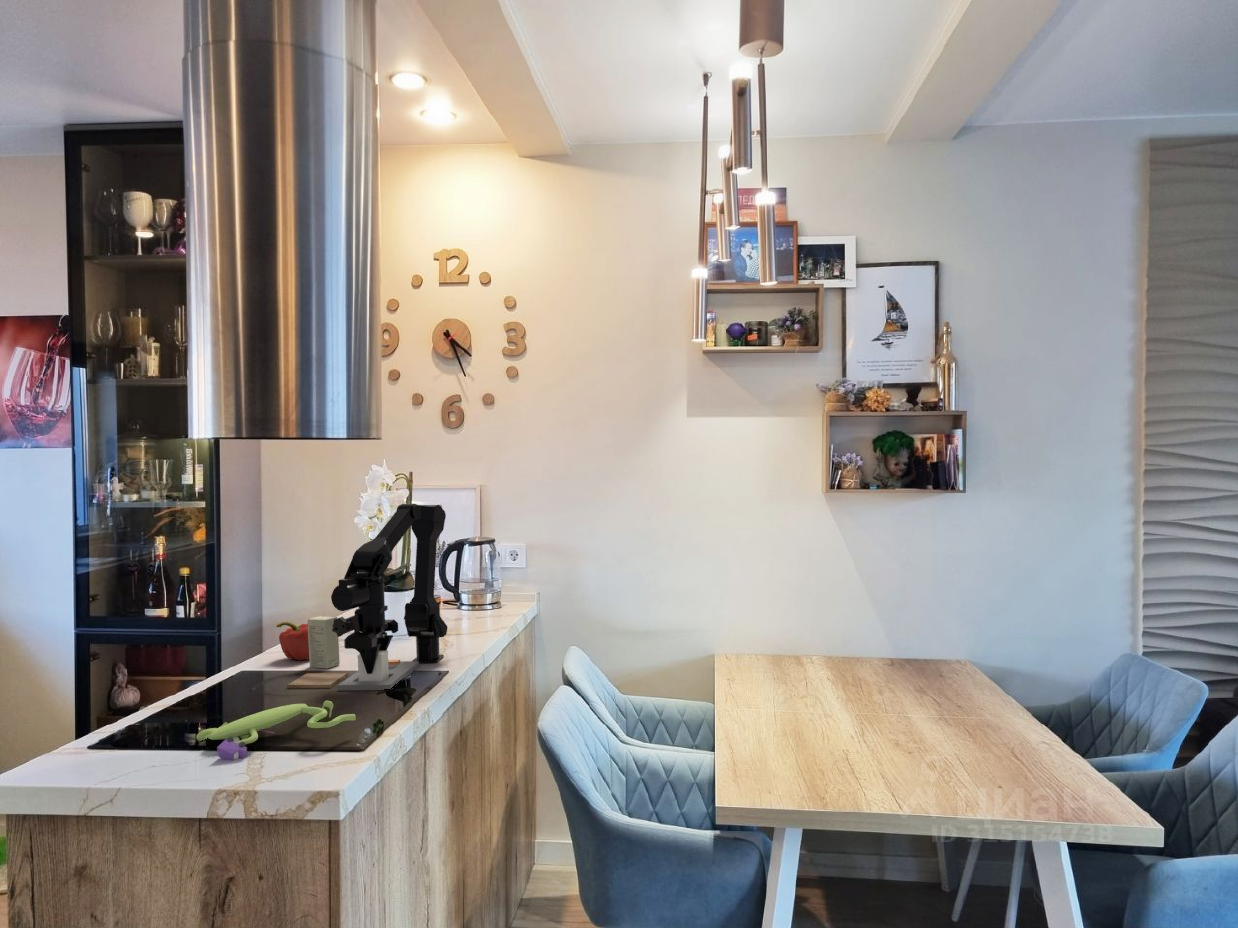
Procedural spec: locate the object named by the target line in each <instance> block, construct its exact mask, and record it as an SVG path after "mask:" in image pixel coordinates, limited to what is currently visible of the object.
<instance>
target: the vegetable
mask: <svg viewBox="0 0 1238 928" xmlns="http://www.w3.org/2000/svg"><path fill="white" fill-rule="evenodd" d="M282 626H287V627H290V628H287V629H286V630H285V631H282V632H280V633H279V637H278V641H279V644H280V647H281V650H282V653H283V654H284V655H285V657H286V658H287V659H289V660H298V661H304V659H305V660H308V659H309V640H308V623H302V624H299V625H298V626H297V625H296V624H295V623H292V622H289V621H283V622H280V623H278V624H277V625H276V628H281V627H282Z"/></svg>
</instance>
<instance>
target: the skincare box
mask: <svg viewBox="0 0 1238 928" xmlns="http://www.w3.org/2000/svg"><path fill="white" fill-rule="evenodd" d="M337 618H338V616H325V615H324V616H323V615H322V616H321V615H319V616H314V617H311V618H307V624H308V640H309V661H308V662H309V668H314V669H315V668H316V669H317V668H318V669H330V668H333V667H336V666H339V665H341V664H340V643H339V642H340V641H339V637H338V636H337V633H335V632H333V631H332V629H333V626H332V625H333V623H334V620H335V619H337Z"/></svg>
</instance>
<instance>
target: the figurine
mask: <svg viewBox="0 0 1238 928" xmlns="http://www.w3.org/2000/svg"><path fill="white" fill-rule="evenodd" d="M325 707H326V708H328V709H329V715H328V711H327V709H325ZM333 709H334V703H333V702H332V701H331V700H325V701H323V704H322V707H317V706H316V707H315V706H308V705H307V704H306V703H294V704H293V703H292V704H286V705H282V706H278V707H273V708H269V709H265V710H261V711H260V712H259V711H258V712H256V713H252V714H250V715H247V716H244V717H242V718H240V719H236V720H234V721H231V722H229V723H228V722H227V721H225V722H224V723H223V724H222V725H220V726H219V727H218V728H217V727H213V728H212V727H211V728H207V729H206V728H205V729H204V730H201V731H200V732H198V733H197V734H196V740H197V741H200V742H201V741H202V740H203V741H205V739H206V740H208V739H210V740H212V741H214V740H223V741H222V742H221V743H220V744H219V745H218V746H217V747H216V750H217V755H218V758H220V759H224V760H230V761H235V760H237V759H243V758H246V757H248V747H247V746H246V745H248V744H252V743H255V742H256V741H257V740H258V738H259V734H258V731H259V732H260V731H261V732H265V733H266V732H267V733H270V734H275V732H273V731H268V730H265V729H270V728H272V727H273V726H276V725H277V724H280V723H281V724H282V722H285V721H289V719H291V718H293V717H296V716H298V715H300V714H301V713H303V714H308V715H310V716H312V717H311V718H309V720H308V721H307V723H306V726H307V727H308V728H310V729H323V728H331V727H335V726H337V725H338V724H341V723H342V722H346V721H356V719H357V718H356V714H355V713H352V714H351V713H349V714H348V713H347V714H341V715H339V716H336V717H335V718H333V719H332V720H329V721H327V722H321V721H320V720H322V719H324V718H325V717H327V716H328V718H329V719H330V718H331V717H332V712H333ZM319 721H320V722H319ZM207 738H208V739H207ZM240 739H241V740H240Z"/></svg>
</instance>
